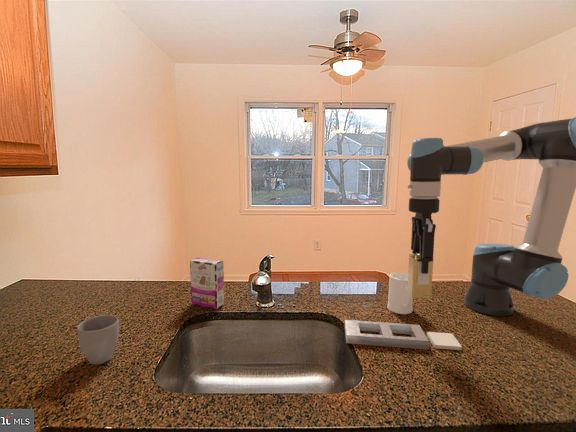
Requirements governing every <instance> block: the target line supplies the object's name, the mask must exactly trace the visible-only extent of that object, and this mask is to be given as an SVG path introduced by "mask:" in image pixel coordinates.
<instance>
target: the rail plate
mask: <svg viewBox="0 0 576 432" xmlns="http://www.w3.org/2000/svg"><path fill="white" fill-rule="evenodd" d="M361 331H362V332H373V334H372V333H361ZM374 332H375V333H378V334H374ZM344 334H345V342H346V343H345V344H350V345H352V344H353V345H364V346H377V347H390V348H403V349H417V350H429V346H430V339H429V338H428V336H427V334H426V333H425V332H424V330H423V328H422V327H421V325H420V324H415V323H414V324H412V323H411V324H409V323H399V322H398V323H397V322H383V321H371V320H370V321H368V320H367V321H366V320H357V319H356V320H355V319H344ZM394 334H398V335H399V334H400V335H399V336H398V335H394ZM401 334H402V335H410V336H401Z"/></svg>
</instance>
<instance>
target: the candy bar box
mask: <svg viewBox="0 0 576 432" xmlns="http://www.w3.org/2000/svg"><path fill="white" fill-rule="evenodd" d="M189 268H190V269H189V271H190V272H189V273H190V274H189V275H190V297H191V298H190V299H191V305H193V306H198V307H203V308H207V309H212V310H218V309H219V308H221V307H223V306H224V305H225V284H224V283H225V281H224V280H225V278H224V260H221V259H211V258H206V257H205V258H204V257H196V258H194V259H192V260H190V261H189Z"/></svg>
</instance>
